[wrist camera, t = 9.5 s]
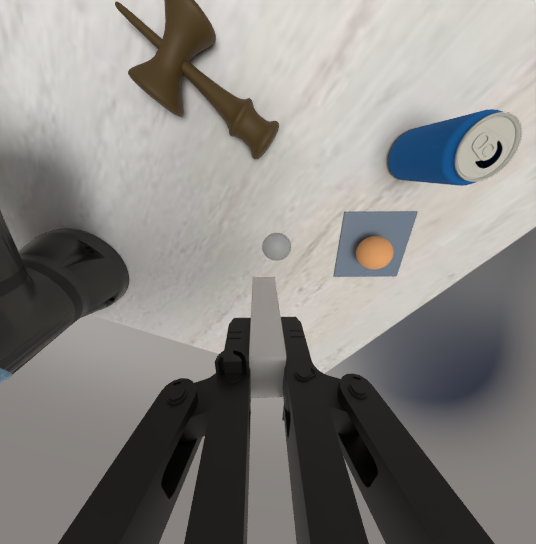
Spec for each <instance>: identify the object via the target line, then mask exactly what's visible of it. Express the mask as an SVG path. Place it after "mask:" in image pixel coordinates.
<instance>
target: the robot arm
mask: <svg viewBox="0 0 536 544" xmlns="http://www.w3.org/2000/svg"><path fill="white" fill-rule="evenodd" d="M128 283H129V276H128V271H127V269H126V266H125V264H124V262H123V260H122V259H121V258H120V256H119V255H118V254H117V253H116V251H115V250H114V249H113V248H112V247H110V246H109V245H108V244H107V243H105V242H104V241H102V240H101V239H99V238H98V237H96V236H94V235H92V234H89V233H87V232H84V231H80V230H75V229H58V230H54V231H51V232H48V233H45V234H42V235H40V236H38V237H36V238H34V239H33V240H32V241H31V242H29V243H28V244H27V245H26V246H24V247H23V248H22V249H21V250H19V251H18V250H17V248H16V245H15V243H14V241H13V238H12V236H11V234H10V232H9V229H8V227H7V225H6V222H5V220H4V218H3V216H2V213H1V211H0V383H1V382H2V381H4V380H7V379H8V378H9V377H10V376H12V374H14V373H15V372H16V371H17V370H18V369H19V368H21V367H22V366H23V365H24V364H25V363H27V362H28V361H29V360H30V359H31V358H33V357H34V356H35V355H36V354H37V353H38V352H40V351H41V350H42V349H43V348H44V347H46V346H47V345H48V344H49V343H50V342H52V341H53V340H54V339H55V338H56V337H57V336H59V335H60V334H61V333H62V332H63V331H64V330H66V329H67V328H68V327H69V326H70V325H72V324H73V323H74V322H75V321H77V320H78V319H79V318H81V317H84V316H86V315H89V314H91V313H94V312H96V311H98V310H101V309H103V308H106V307H108V306H110V305H112V304H113V303H115V302H116V301H117V300H118V299H119V298H120V297H121V296H122V295H123V294H124V293H125V292H126V290H127V287H128ZM215 367H216V374H214V375H213V376H211V377H210V378H208V379H205V380H202V381H199V382H196V383H193V381H191V380H189V379H184V378H181V379H178V380H174V381H172V382H171V383H169V384H168V385H166V386H165V388H164V389H163V390H162V391H161V392H160V394H159V395H158V397H157V398H156V400H155V401H154V403H153V404H152V406H151V407H150V409H149V410H148V412H147V413H146V414H145V416H144V418H143V419H142V420H141V422H140V423H139V425H138V426H137V428H136V429H135V431H134V432H133V434H132V435H131V437H130V438H129V440H128V441H127V442H126V444H125V445H124V447H123V448H122V450H121V451H120V453H119V454H118V456H117V458H116V459H115V460H114V462H113V463H112V465H111V466H110V468H109V469H108V471H107V472H106V473H105V475H104V477H103V478H102V479H101V481H100V482H99V484H98V485H97V487H96V488H95V490H94V491H93V493H92V494H91V496H90V497H89V499H88V500H87V501H86V503H85V505H84V506H83V507H82V509H81V510H80V512H79V513H78V515H77V516H76V518H75V519H74V521H73V522H72V524H71V525H70V527H69V528H68V530H67V531H66V533H65V534H64V535H63V537H62V539H61V540H60V541H59V543H58V544H159V542H160V539H161V537H162V534H163V532H164V529H165V527H166V524H167V522H168V520H169V517H170V514H171V512H172V510H173V507H174V505H175V502H176V500H177V498H178V495H179V493H180V490H181V488H182V486H183V483H184V481H185V478H186V476H187V473H188V471H189V468H190V466H191V463H192V461H193V459H194V456H195V454H196V451H197V449H198V446H199V444H200V441H201V439H202V437H203V436H205V439H204V444H203V450H202V454H201V460H200V465H199V470H198V475H197V480H196V485H195V491H194V496H193V501H192V506H191V511H190V517H189V522H188V527H187V532H186V537H185V542H184V544H247V523H248V522H247V521H248V520H247V519H248V487H249V448H250V414H251V411H250V402H251V398H267V397H282V396H283V397H284V408H283V409H284V410H283V420H284V422H285V431H286V442H287V452H288V461H289V472H290V480H291V491H292V501H293V511H294V520H295V531H296V541H297V544H369V543H368V540H367V537H366V533H365V530H364V526H363V523H362V519H361V516H360V513H359V509H358V506H357V502H356V499H355V495H354V492H353V488H352V485H351V481H350V478H349V475H348V471H347V468H346V464H345V461H344V458H345V460H346V462H347V464H348V467H349V469H350V471H351V473H352V475H353V477H354V479H355V481H356V483H357V485H358V487H359V489H360V491H361V493H362V495H363V498H364V500H365V502H366V504H367V506H368V508H369V510H370V512H371V514H372V516H373V518H374V520H375V522H376V524H377V526H378V528H379V530H380V533H381V535H382V537H383V539H384V541H385V543H386V544H494V542H493V541H492V540H491V538H490V537H489V536H488V535H487V533H486V532H485V531H484V529H483V528H482V527H481V526H480V524H479V523H478V522H477V520H476V519H475V518H474V517H473V515H472V514H471V513H470V511H469V510H468V509H467V507H466V506H465V505H464V504H463V502H462V501H461V500H460V498H459V497H458V496H457V494H456V493H455V492H454V491H453V489H452V488H451V487H450V485H449V484H448V483H447V482H446V480H445V479H444V478H443V476H442V475H441V474H440V472H439V471H438V470H437V469H436V467H435V466H434V465H433V463H432V462H431V461H430V459H429V458H428V457H427V456H426V454H425V453H424V452H423V450H422V449H421V448H420V447H419V445H418V444H417V443H416V442H415V440H414V439H413V437H412V436H411V435H410V434H409V432H408V431H407V430H406V428H405V427H404V426H403V425H402V423H401V422H400V421H399V419H398V418H397V417H396V415H395V414H394V413H393V412H392V410H391V409H390V408H389V406H388V405H387V404H386V402H385V401H384V400H383V399H382V397H381V396H380V395H379V393H378V392H377V391H376V390H375V388H374V387H373V386H372V384H370V383H369V382H368V380H366V379H365V378H363V377H361V376H360V375H356V374H346V375H344V376H343V377H342V379H338V378H335V377H331V376H328V375H326V374H323V373H322V372H320V371H319V370H318V369H317V368H316V367H315V366H314V365H313V363H312V360H311V357H310V353H309V350H308V346H307V343H306V339H305V335H304V332H303V328H302V324H301V322H300V321H299V320H298V319H297V318H296V317H280V310H279V303H278V297H277V290H276V283H275V277H253V284H252V305H251V318H234V319H233V320H232V321H231V322H230V324H229V327H228V333H227V339H226V344H225V349H224V351H223V352H221V353H220V354H219V355H218V356H217V358H216V360H215ZM343 456H344V457H343Z"/></svg>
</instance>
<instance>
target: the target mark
mask: <svg viewBox="0 0 536 544" xmlns="http://www.w3.org/2000/svg"><path fill="white" fill-rule="evenodd" d="M417 213H418V212H344V218H343V224H342V230H341V236H340V242H339V248H338V254H337V259H336V265H335V271H334V277H366V276H397V273H398V270H399V267H400V264H401V261H402V258H403V255H404V252H405V249H406V246H407V243H408V240H409V237H410V234H411V231H412V228H413V225H414V222H415V219H416V216H417ZM371 236H380V237H383V238H385V239H387V240H388V241H389V242H390V243H391V245H392V247H393V251H394V253H393V257H392V260H391V261H390V263H389V264H387V265H386V266H385V267H383V268H380V269H368V268H365V267H364V266H362V265H361V264H360V263H359V261H358V260H357V257H356V250H357V247H358V245H359V244H360V243H361V242H362V241H363V240H364V239H366V238H368V237H371Z"/></svg>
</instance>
